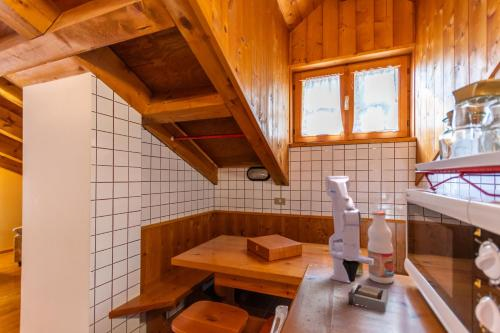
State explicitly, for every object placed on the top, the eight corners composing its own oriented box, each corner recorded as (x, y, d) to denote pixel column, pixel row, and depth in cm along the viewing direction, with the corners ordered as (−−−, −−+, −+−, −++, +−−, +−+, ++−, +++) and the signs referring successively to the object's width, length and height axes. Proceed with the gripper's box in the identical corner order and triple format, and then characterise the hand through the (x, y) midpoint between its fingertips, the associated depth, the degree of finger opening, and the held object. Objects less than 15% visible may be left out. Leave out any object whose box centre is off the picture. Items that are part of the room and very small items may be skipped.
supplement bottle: (362, 271, 114) (361, 249, 114) (364, 275, 108) (363, 253, 109) (349, 270, 115) (348, 248, 115) (350, 274, 110) (350, 252, 110)
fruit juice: (370, 273, 111) (368, 210, 112) (395, 277, 106) (392, 211, 107) (367, 280, 103) (364, 212, 104) (393, 286, 98) (390, 214, 99)
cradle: (359, 292, 94) (359, 283, 94) (387, 298, 89) (387, 289, 89) (354, 304, 85) (354, 295, 85) (384, 312, 80) (384, 302, 80)
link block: (363, 296, 91) (363, 285, 91) (381, 301, 87) (380, 290, 87) (358, 301, 87) (357, 290, 87) (377, 307, 83) (376, 295, 83)
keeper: (352, 306, 83) (352, 294, 84) (348, 305, 84) (347, 293, 84) (359, 292, 93) (359, 281, 93) (355, 291, 94) (355, 280, 94)
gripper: (327, 242, 92) (328, 279, 92) (369, 249, 83) (371, 290, 83) (334, 238, 98) (335, 273, 98) (374, 244, 89) (375, 283, 89)
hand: (352, 281), depth 91 cm, fingers closed
